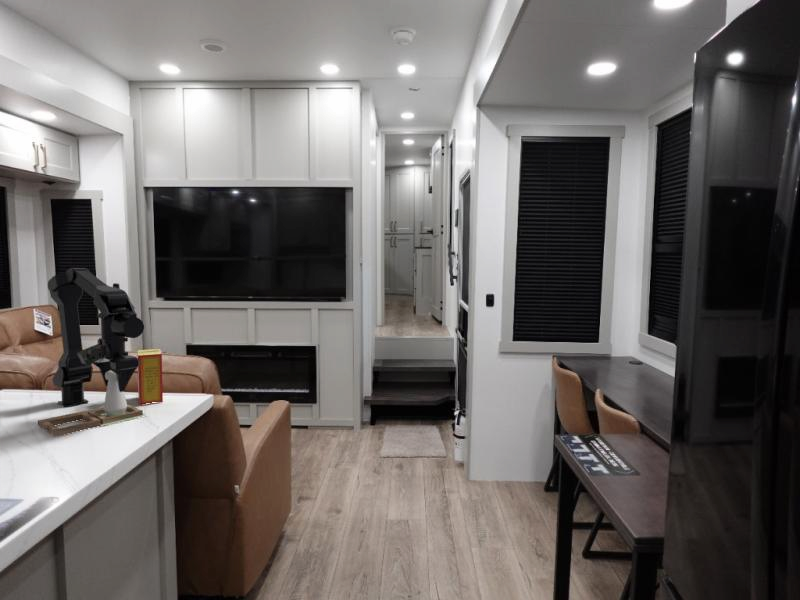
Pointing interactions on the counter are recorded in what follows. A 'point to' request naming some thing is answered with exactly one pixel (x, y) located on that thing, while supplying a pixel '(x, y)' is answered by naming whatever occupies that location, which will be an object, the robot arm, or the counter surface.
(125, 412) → the card
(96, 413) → the frame
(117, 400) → the salt shaker
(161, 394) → the baking soda box
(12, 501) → the counter surface
